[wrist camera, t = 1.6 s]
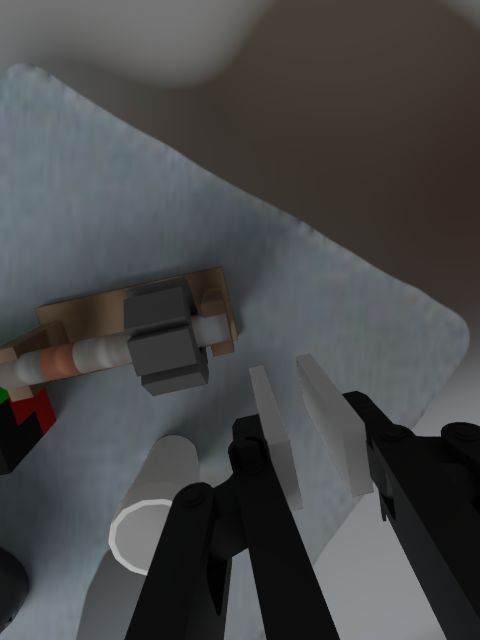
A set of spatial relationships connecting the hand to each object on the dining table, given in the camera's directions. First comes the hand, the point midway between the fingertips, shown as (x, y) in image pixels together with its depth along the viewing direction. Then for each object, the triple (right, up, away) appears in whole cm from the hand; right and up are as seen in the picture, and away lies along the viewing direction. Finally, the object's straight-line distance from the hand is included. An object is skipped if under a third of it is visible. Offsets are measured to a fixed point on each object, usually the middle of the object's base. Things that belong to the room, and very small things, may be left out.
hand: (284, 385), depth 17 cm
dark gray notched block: (-9, +2, +15) cm, 17 cm away
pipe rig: (-14, +3, +24) cm, 28 cm away
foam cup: (-11, -15, +29) cm, 34 cm away
